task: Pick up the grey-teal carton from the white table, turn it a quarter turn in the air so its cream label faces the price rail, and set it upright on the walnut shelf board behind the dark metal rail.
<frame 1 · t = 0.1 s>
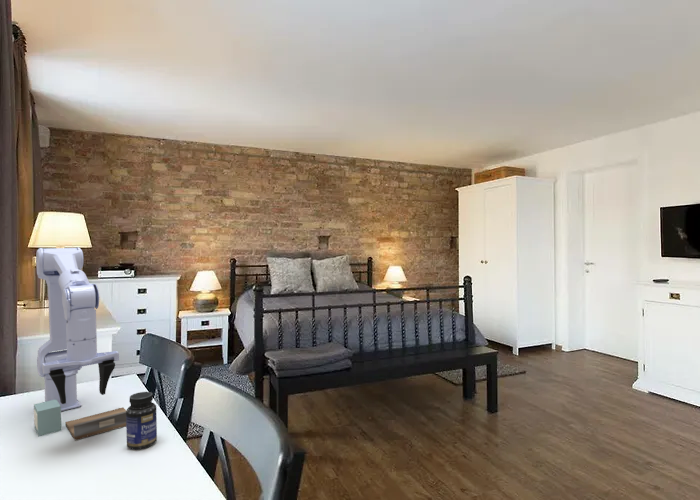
hand: (83, 397, 96), 10 cm above the table, tool pointing down, fingers open, 7 cm apart
pill bottle: (142, 444, 95), on the table
carton: (48, 429, 102), on the table
shelf board: (101, 424, 105), on the table
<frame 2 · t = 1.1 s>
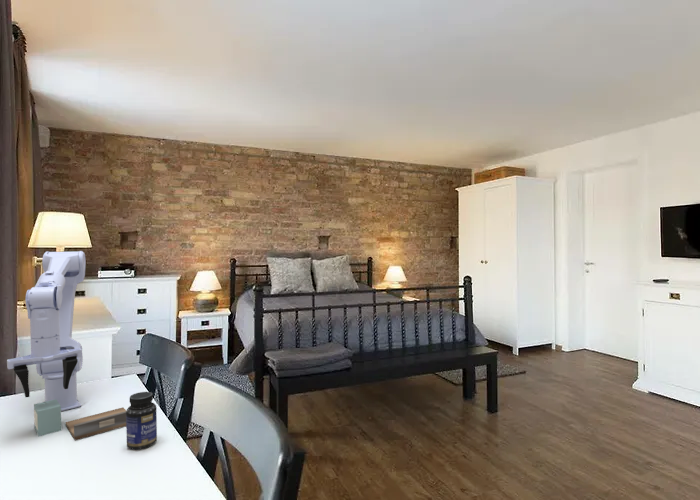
hand: (46, 391, 102), 9 cm above the table, tool pointing down, fingers open, 7 cm apart
nothing on the table moved.
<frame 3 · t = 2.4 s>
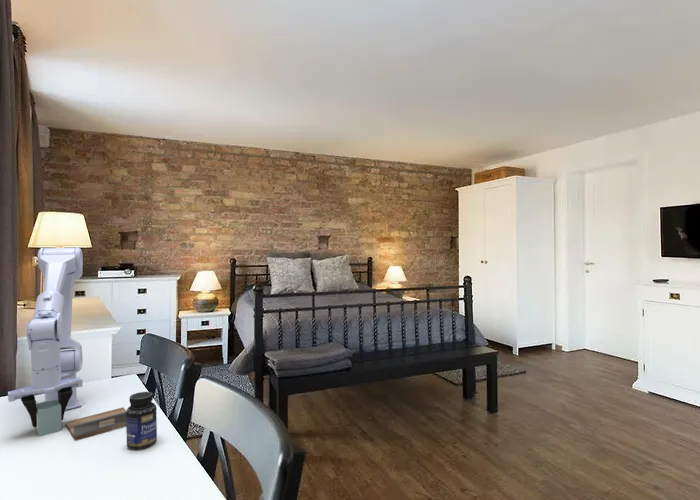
hand: (47, 422, 102), 2 cm above the table, tool pointing down, fingers closed on carton, 5 cm apart
carton: (48, 429, 102), on the table, touching gripper
everything else where it was.
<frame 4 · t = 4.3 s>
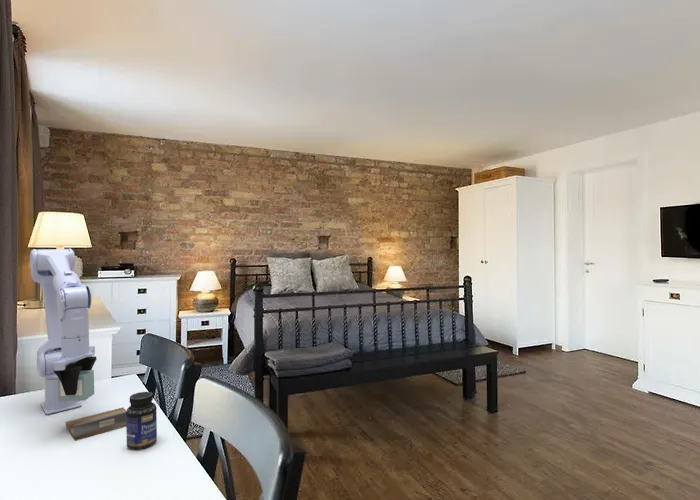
hand: (76, 390, 104), 9 cm above the table, tool pointing down, fingers closed on carton, 5 cm apart
carton: (76, 397, 104), point 7 cm above the table, touching gripper
everything else where it was.
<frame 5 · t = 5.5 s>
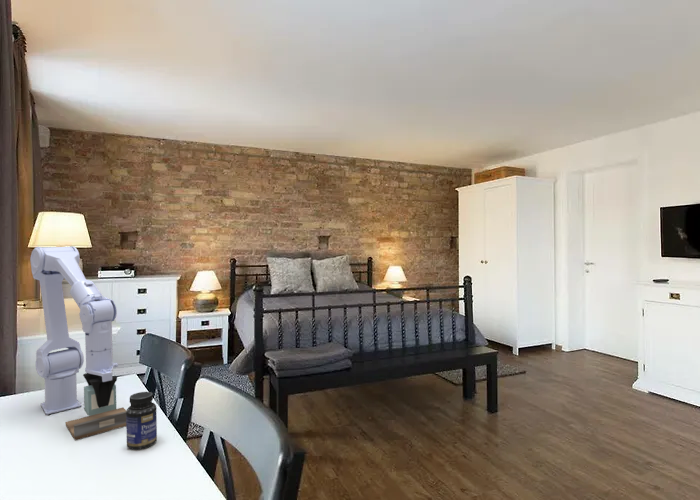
hand: (100, 403, 105), 5 cm above the table, tool pointing down, fingers closed on carton, 5 cm apart
carton: (100, 409, 105), point 4 cm above the table, touching gripper
everything else where it was.
when the fingers open (4 cm above the table, at t = 6.3 s): carton drops 1 cm, resting on shelf board.
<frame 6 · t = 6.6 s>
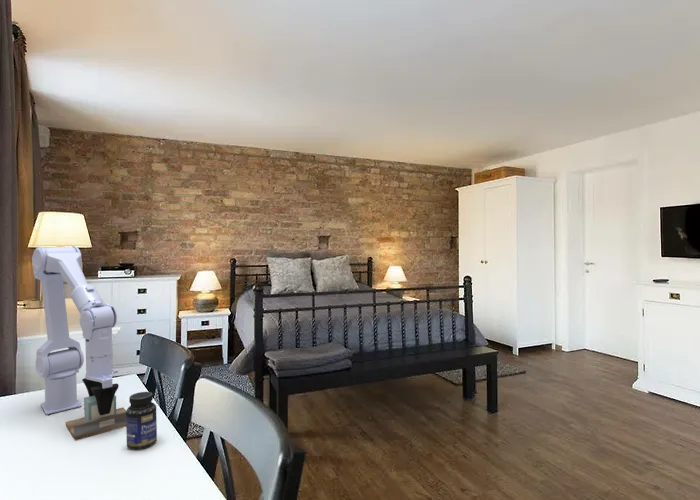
hand: (100, 409, 105), 4 cm above the table, tool pointing down, fingers open, 7 cm apart
carton: (100, 420, 105), point 1 cm above the table, touching shelf board
everything else where it was.
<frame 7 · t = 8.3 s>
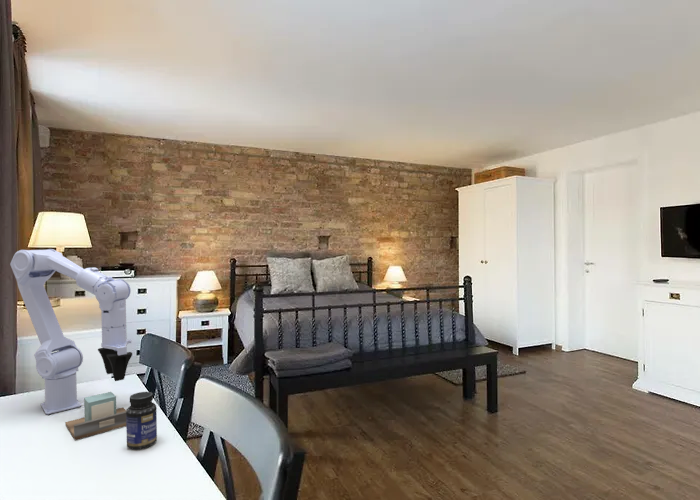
hand: (115, 376, 112), 9 cm above the table, tool pointing down, fingers open, 7 cm apart
nothing on the table moved.
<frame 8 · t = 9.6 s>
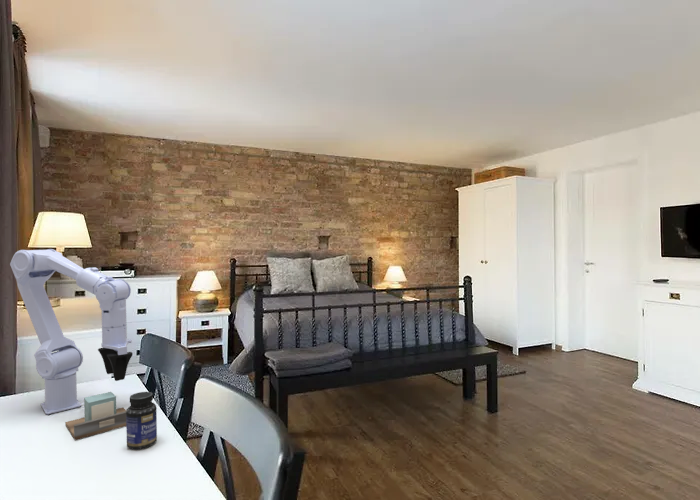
hand: (115, 376, 112), 9 cm above the table, tool pointing down, fingers open, 7 cm apart
nothing on the table moved.
at the end: carton inside the target area on the shelf board (0.3 cm from its centre), point 0.8 cm above the shelf board's base; carton tilted 0°; the gripper is holding nothing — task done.
